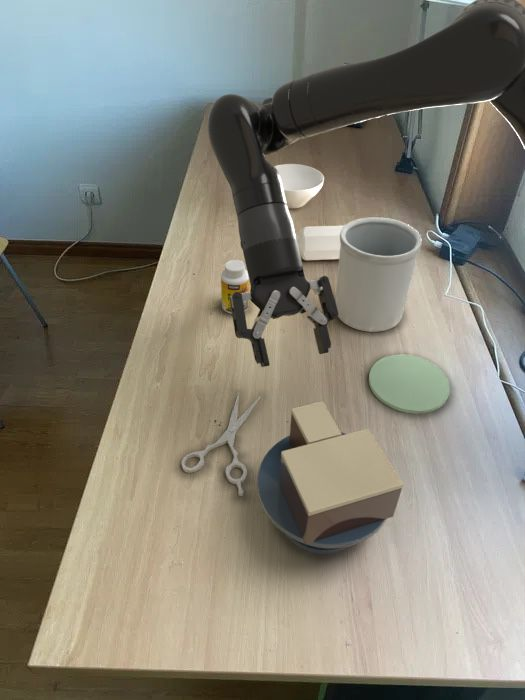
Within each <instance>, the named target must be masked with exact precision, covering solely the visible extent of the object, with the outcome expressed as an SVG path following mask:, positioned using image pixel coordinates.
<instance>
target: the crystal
mask: <svg viewBox="0 0 525 700" xmlns="http://www.w3.org/2000/svg"><path fill="white" fill-rule="evenodd" d="M345 225H346V224H344V225H317V226H316V225H315V226H314V225H313V226H312V225H311V226H304V227H302V228H301V229H300V230H299V232H298V234H296V238H297V243H298V247H299V252H300V256H301V260H304V261H322V260H339V256H340V246H341V243H340V233H341V230H342V228H343V227H344V226H345Z"/></svg>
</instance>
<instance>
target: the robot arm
mask: <svg viewBox="0 0 525 700" xmlns="http://www.w3.org/2000/svg"><path fill="white" fill-rule="evenodd" d="M271 98H272V102H271V103H268V104H264V105H263V104H259V103H257V102H254V101H253V100H250V99H249V98H246V97H244V96H242V95H239V94H235V93H228V94H224V95H222V96H220V97H218V98H217V99H216V100H215V101H214V102H213V104H212V105H211V107H210V109H209V113H208V117H207V133H208V139H209V142H210V145H211V149H212V150H213V153H214V155H215V158H216V160H217V162H218V164H219V166H220V169H221V171H222V173H223V175H224V177H225V179H226V180H227V183H228V185H229V187H230V189H231V195H232V199H233V205H234V209H235V213H236V219H237V225H238V236H239V240H240V243H239V244H240V247H241V250H242V254H243V257H244V264H245V268H246V271H247V272H248V276H249V286H250V289H249V292H248V293H240V292H235V293H234V294H233V295H232V296H231V297H230V304H231V311H232V314H231V316H232V323H233V329H234V335H235V337H236V338H237V339H245V340H248V341H249V342H250V344H251V349H252V352H253V357H254V361H255V363H256V364H257V365H258V364H260V367H261V368H266V367H269V366H270V360H269V355H268V350H267V347H266V342H265V338H264V337H262V335H263V333H264V331H265V329H266V326H267V325H268V323H269V322H270V319H272V320H276V319H280V318H281V317H290V316H295V315H297V314H299V315H300V316H301V317H302V318H305V319H307V320H308V321H309V322H310V323H311V324H312V325H313V326H314V328H313V334H314V338H315V342H316V347H317V350H318V354H319V355H325V354H328V353H329V351H330V350H329V349H331V348H332V347H331V346H332V342H331V341H332V340H331V337H330V333H329V329H328V328H329V327H328V324H329V323H330V322H331V321H333V320H334V319H336V318H338V310H337V306H336V303H335V299H336V298H335V296H334V293H333V289H332V286H331V282H330V279H329V277H328V276H327V275H323V276H320V277H319V278H316V279H313V280H309V279H308V278H307V277H306V275H305V270H304V266H303V262H302V257H301V256H300V252H299V247H298V243H297V238H296V237H297V234H296V230H295V225H294V221H293V218H292V216H291V213H290V210H289V208H288V207H287V202H286V198H285V193H284V189H283V185H282V181H281V177H280V175H279V172H278V171H277V169H276V168H275V167H274V166H275V165H273V164H272V163H270V162H269V161H268V160H267V159H266V157H268V156H271V155H274V154H275V153H278V152H279V151H282V150H283V149H286V148H287V147H289V146H291V145H292V144H294V143H296V142H297V141H299V140H302V139H307V138H310V137H314V136H317V135H322V134H324V133H328V132H331V131H334V130H335V131H336V130H338V129H342V128H345V127H349V126H348V125H352V124H355V123H359V122H362V121H364V122H365V121H369V120H372V119H377V118H380V117H385V116H389V115H394V114H399V113H404V112H410V111H411V112H412V111H416V110H417V111H418V110H422V109H430V108H440V107H449V106H458V105H467V104H477V103H484V102H489V103H490V104H491V105H492V107H494V108H495V110H497V111H498V112H499V113H500V115H501V116H502V117H503V118H504V119H505V120H506V121H507V122H508V123H509V125H510V126H511V128H512V129H513V131H514V132H515V133H516V135H517V136H518V138H519V140H520V142H521V144H522V146H523V149H525V6H524V5H523V4H522V3H521V2H519V1H518V0H474V1H473V2H470V3H469V4H468V5H466V7H464V8H463V9H462V10H461V12H459V14H457V16H456V17H455V18H454V19H453V20H452V21H451V23H450V24H449V25H448V26H446V27H444V28H443V29H441V30H439V31H437V32H435V33H433V34H432V35H430V36H429V37H426V38H424V39H423V40H420V41H418V42H417V43H414V44H413V45H410V46H409V47H406V48H404V49H401V50H399V51H396V52H394V53H390V54H387V55H384V56H381V57H377V58H373V59H369V60H364V61H358V62H352V63H348V64H346V65H344V64H342V65H336V66H333V67H329V68H326V69H323V70H320V71H317V72H313V73H311V74H308V75H305V76H302V77H299V78H297V79H293V80H291V81H288V82H287V83H284V84H282V85H281V86H279V87H278V88H277V89H276V90H275V91H274V93H273V96H272V97H271ZM311 290H312V291H313V293H314V295H316V296H318V300H319V304H320V307H321V310H322V312H321V311H320V310H319V309H318V307H317V306H316V305H315V304H314V303H313V302H312V301H311V300H309V299H308V296H309V294H310V291H311ZM248 301H249V302H250V301H251V303H252V304H253V305H255V306H256V307H257V308H258V313H257V314H256V317H255V319H254V321H253V325H252V327H251V328H248V325H247V318H246V311H245V312H244V309H245V308H246V307H247V306H248Z"/></svg>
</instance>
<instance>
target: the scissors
mask: <svg viewBox="0 0 525 700" xmlns="http://www.w3.org/2000/svg"><path fill="white" fill-rule="evenodd" d="M261 397H262V395H260V396H259V397H257V399H256V400H255V401H254V402H253V403H252V404H251V405H250V406H249V407H248V408H247V409H246V410H245V412H244V413H242V414H241V416H239V417H238V414H239V413H238V412H239V401H240V391H238V392H237V396H236V400H235V402H234V406H233V407H232V411H231V415H230V419H229V423H228V426H227V429H226V430H225V431H224V433H223V434H222V435H221V436H220V438H218V439H217V440H216V441H215V442H214V443H212V444H207V445H206V447H205V449H203V450H199V451H191V452H190V453H187V454H186V455H185V456H184V457H183V458H182V460H181V468H182V470H183V472H185V473H188V474H191V473H196V472H197V471H199V470H201V469H202V468H203V467H204V466H205V457H206V456H207V454H208V453H209V452H210V451H212V450H214V449H217V448H218V447H221V446H223V445H225V444H227V445H228V447H229V449H230V451H231V453H232V455H233V459H232V462H231V463H230V464H228V465H227V466H226V467H225V477H226V479H227V480H228V482H229V483H231V484H234V485H236V487H237V490H238V491H237V492H238V496H239V497H243V496H244V489H243V488H242V484H243V483H244V482H245V481H246V479H247V475H248V470H247V467H246V466H245V464H244V463H242V462H241V461H239V459H238V455H239V453H238V451H237V450H236V449H235V447H234V446H235V445H234V444H235V440H236V433H237V432H238V430H239V429H240V428H241V426H242V425H243V424H244V423H245V421H246V420H247V418H248V417H249V416H250V414H251V412H252V411H253V410H254V408H255V407H256V405H257V404H258V402H259V401H260V399H261ZM195 457H196V458H199V461H198V463H197V464H196V465H194V466H192V467H188V466H187V465H186V462H187V461H188V460H190V459H191V458H195ZM234 468H235V469H236V468H239V469H241V470H242V475H241V477H239V478H234V477H232V476H231V471H232V470H233V469H234Z"/></svg>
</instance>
